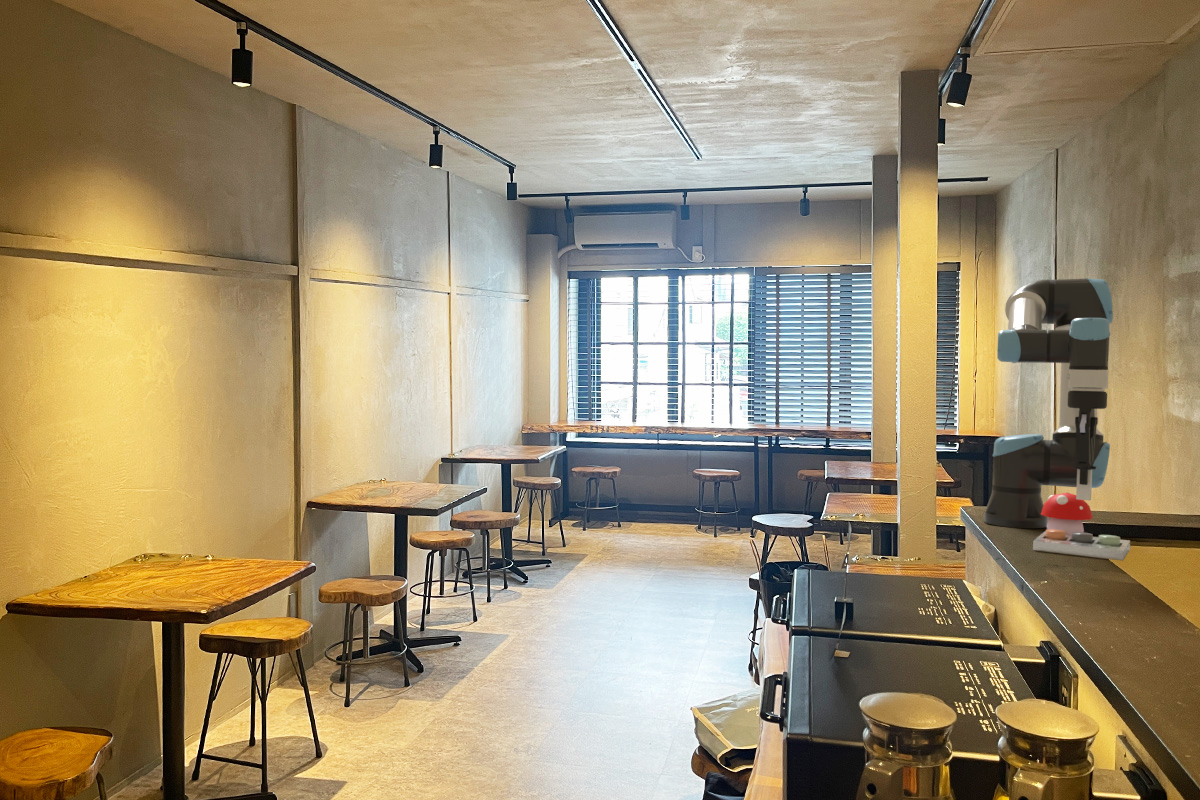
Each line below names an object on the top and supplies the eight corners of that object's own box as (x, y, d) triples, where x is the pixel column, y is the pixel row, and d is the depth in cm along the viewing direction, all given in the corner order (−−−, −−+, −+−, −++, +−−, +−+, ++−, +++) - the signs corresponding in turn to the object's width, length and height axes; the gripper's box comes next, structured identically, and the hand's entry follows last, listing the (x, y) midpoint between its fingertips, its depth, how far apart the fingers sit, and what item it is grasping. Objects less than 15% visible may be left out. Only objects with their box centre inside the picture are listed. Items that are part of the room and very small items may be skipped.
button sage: (1099, 544, 201) (1100, 534, 201) (1120, 546, 199) (1121, 536, 199) (1097, 547, 198) (1097, 536, 198) (1118, 549, 196) (1119, 539, 196)
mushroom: (1056, 538, 224) (1058, 488, 223) (1101, 545, 214) (1103, 494, 214) (1030, 542, 218) (1032, 491, 217) (1076, 550, 209) (1078, 497, 208)
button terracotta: (1047, 538, 207) (1047, 528, 207) (1066, 540, 205) (1067, 530, 205) (1043, 541, 204) (1044, 531, 204) (1064, 543, 202) (1064, 533, 202)
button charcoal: (1072, 541, 204) (1073, 531, 204) (1093, 543, 202) (1093, 533, 202) (1070, 544, 201) (1070, 533, 201) (1091, 546, 199) (1091, 536, 199)
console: (1044, 546, 212) (1044, 531, 212) (1129, 556, 203) (1130, 540, 202) (1032, 556, 201) (1033, 540, 201) (1122, 567, 191) (1123, 550, 191)
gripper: (1072, 389, 208) (1068, 495, 208) (1063, 389, 197) (1059, 500, 198) (1110, 390, 203) (1106, 498, 204) (1103, 390, 193) (1099, 504, 193)
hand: (1083, 499), depth 201 cm, fingers closed
